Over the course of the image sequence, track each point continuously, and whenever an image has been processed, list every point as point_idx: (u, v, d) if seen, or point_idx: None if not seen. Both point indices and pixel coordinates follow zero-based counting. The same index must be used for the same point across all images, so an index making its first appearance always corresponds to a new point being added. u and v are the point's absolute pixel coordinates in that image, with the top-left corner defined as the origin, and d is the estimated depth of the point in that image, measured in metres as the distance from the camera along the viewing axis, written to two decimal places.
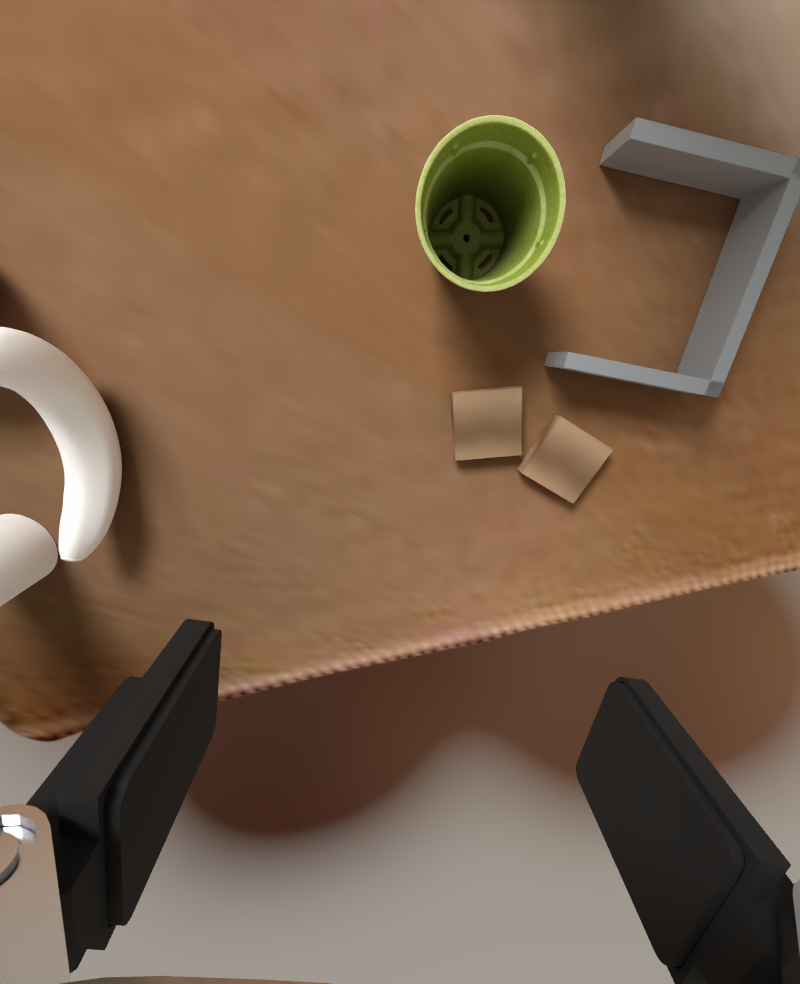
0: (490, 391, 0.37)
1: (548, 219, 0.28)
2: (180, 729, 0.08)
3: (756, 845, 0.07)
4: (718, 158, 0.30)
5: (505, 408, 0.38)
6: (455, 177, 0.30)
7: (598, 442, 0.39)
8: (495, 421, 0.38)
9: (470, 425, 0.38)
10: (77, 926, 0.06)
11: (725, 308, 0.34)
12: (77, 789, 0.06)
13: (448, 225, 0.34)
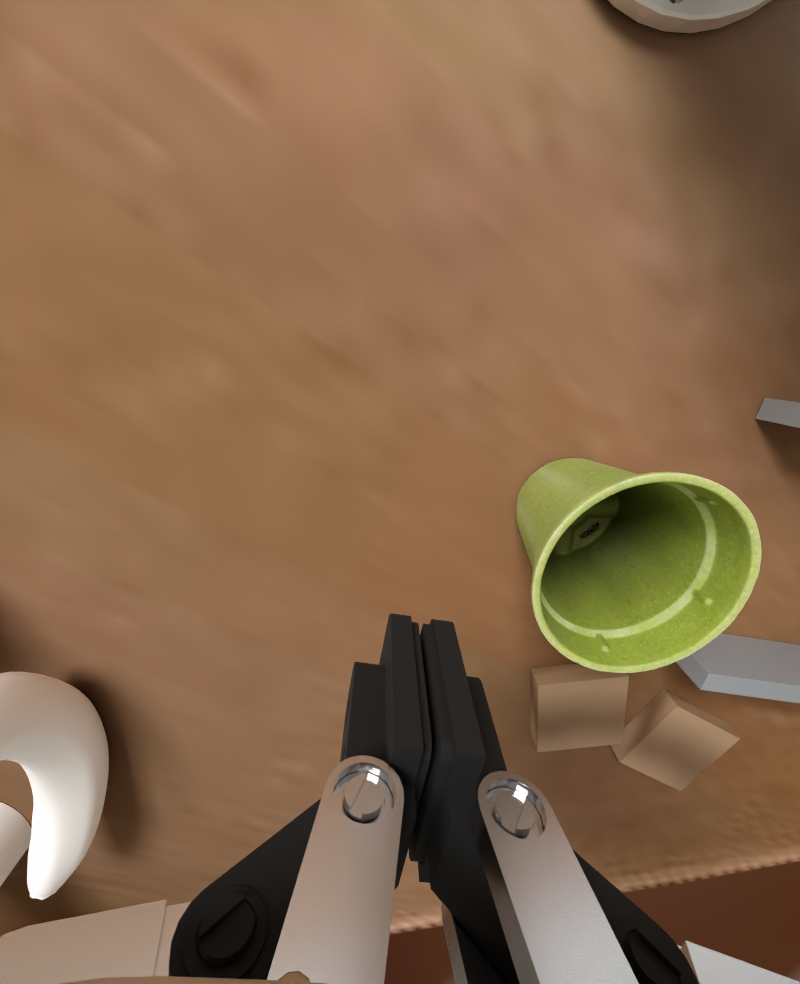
0: (587, 681, 0.28)
1: (719, 571, 0.19)
2: None
3: (463, 742, 0.07)
4: None
5: (605, 698, 0.29)
6: None
7: (722, 731, 0.30)
8: (591, 711, 0.29)
9: (559, 717, 0.29)
10: None
11: None
12: (405, 744, 0.07)
13: None
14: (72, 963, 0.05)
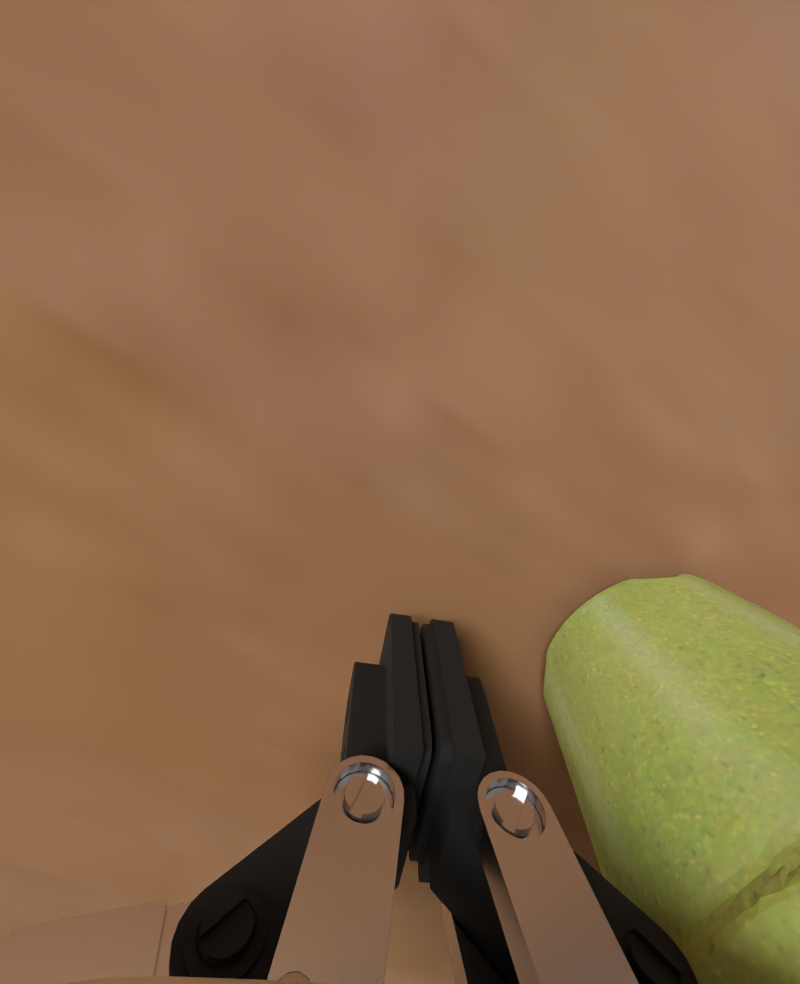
0: None
1: None
2: None
3: (463, 742, 0.07)
4: None
5: None
6: None
7: None
8: None
9: None
10: None
11: None
12: (405, 744, 0.07)
13: None
14: (71, 963, 0.05)
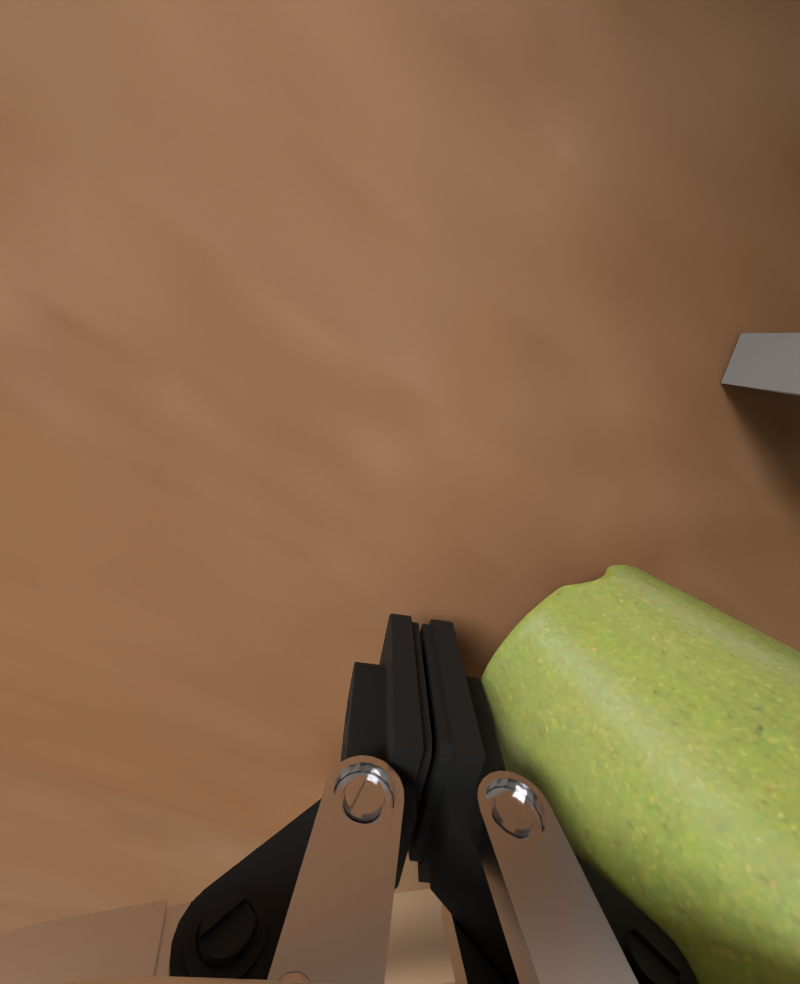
0: (421, 891, 0.15)
1: None
2: None
3: (462, 742, 0.07)
4: None
5: None
6: None
7: None
8: (442, 934, 0.16)
9: None
10: None
11: None
12: (405, 744, 0.07)
13: None
14: (71, 964, 0.05)
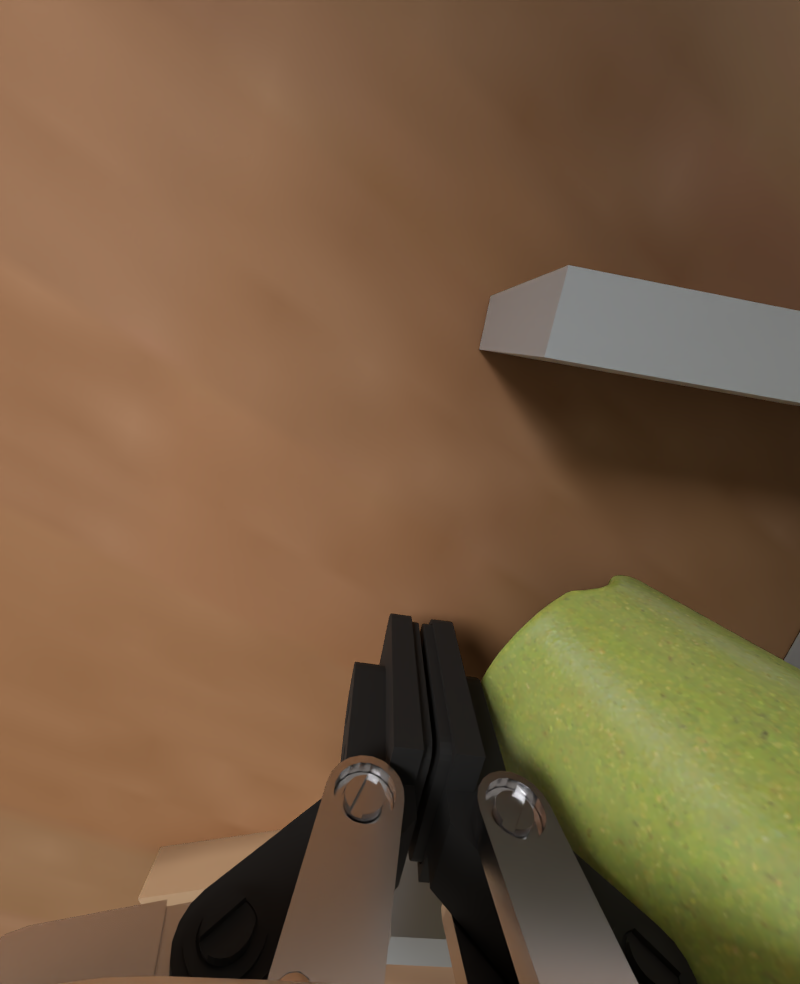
0: None
1: None
2: None
3: (462, 742, 0.07)
4: None
5: None
6: None
7: None
8: None
9: None
10: None
11: None
12: (405, 744, 0.07)
13: None
14: (71, 964, 0.05)
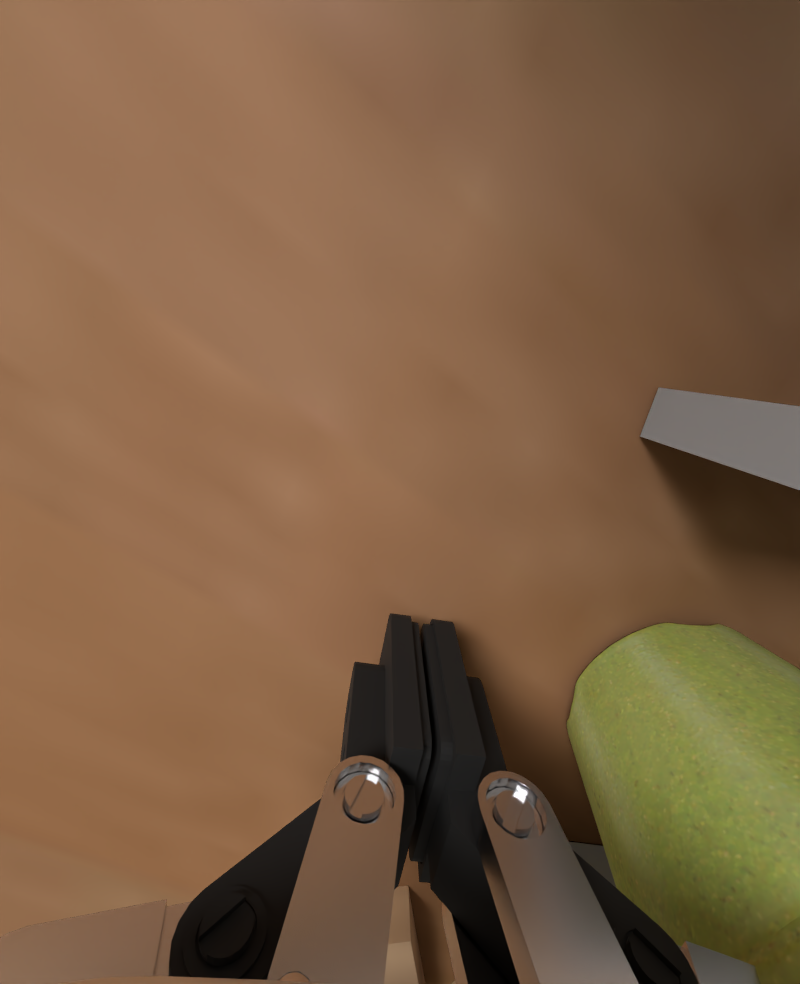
0: None
1: None
2: None
3: (463, 742, 0.07)
4: None
5: None
6: None
7: None
8: None
9: None
10: None
11: None
12: (405, 744, 0.07)
13: None
14: (71, 963, 0.05)
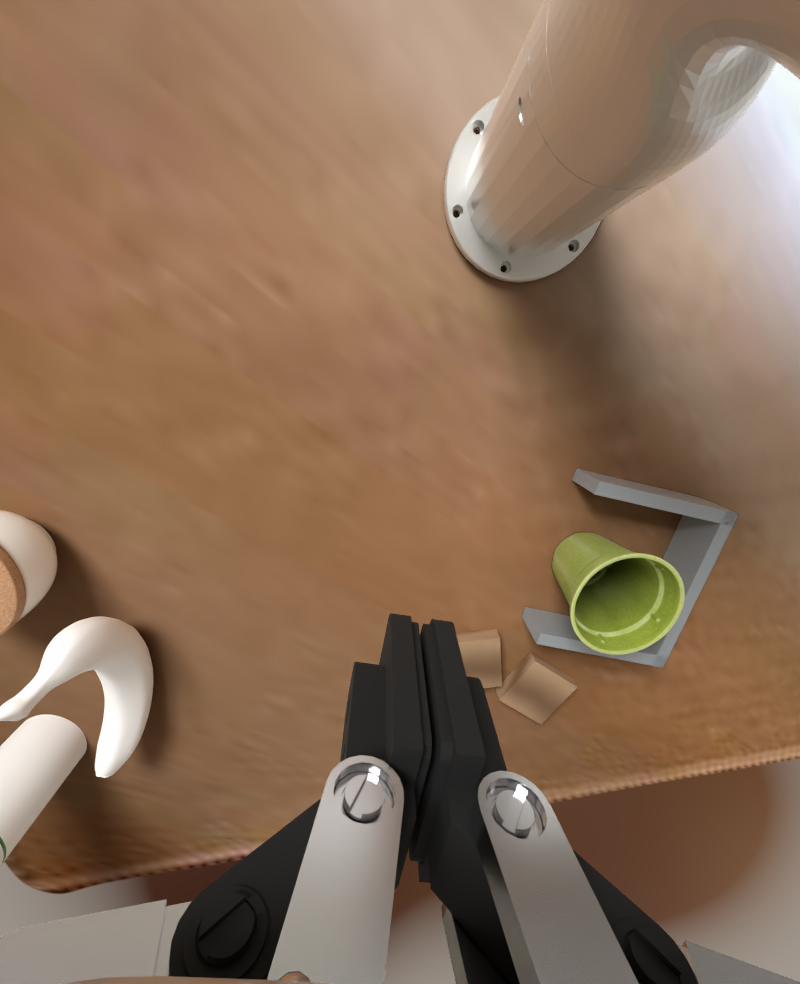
0: (473, 641, 0.44)
1: (664, 604, 0.37)
2: None
3: (463, 742, 0.07)
4: (664, 509, 0.37)
5: (486, 653, 0.44)
6: None
7: (565, 681, 0.46)
8: (478, 663, 0.45)
9: None
10: None
11: None
12: (405, 744, 0.07)
13: None
14: (71, 963, 0.05)
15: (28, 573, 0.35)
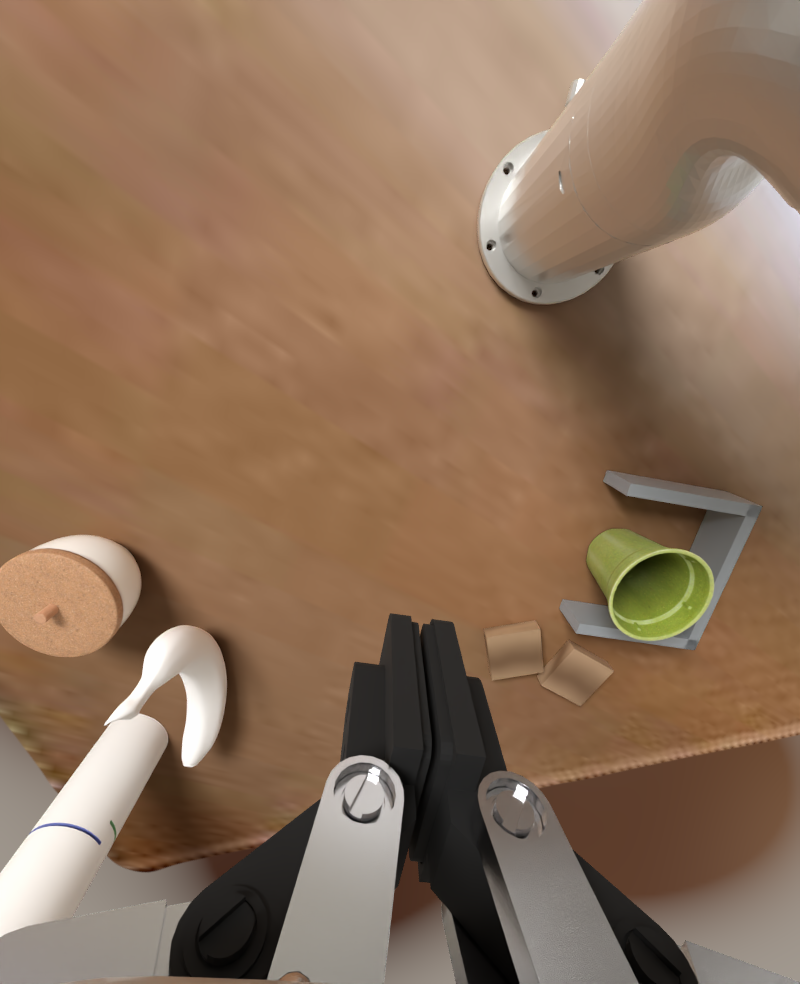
0: (515, 633, 0.48)
1: (695, 593, 0.40)
2: None
3: (463, 742, 0.07)
4: (691, 505, 0.40)
5: (528, 643, 0.48)
6: None
7: (602, 666, 0.49)
8: (521, 652, 0.48)
9: (501, 657, 0.49)
10: None
11: None
12: (405, 744, 0.07)
13: None
14: (72, 964, 0.05)
15: (123, 590, 0.39)
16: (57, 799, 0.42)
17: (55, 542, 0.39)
